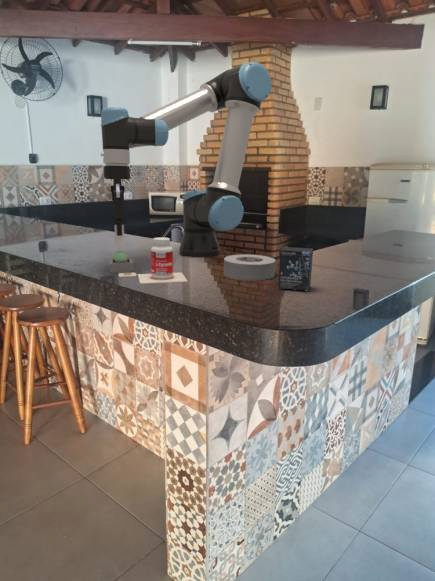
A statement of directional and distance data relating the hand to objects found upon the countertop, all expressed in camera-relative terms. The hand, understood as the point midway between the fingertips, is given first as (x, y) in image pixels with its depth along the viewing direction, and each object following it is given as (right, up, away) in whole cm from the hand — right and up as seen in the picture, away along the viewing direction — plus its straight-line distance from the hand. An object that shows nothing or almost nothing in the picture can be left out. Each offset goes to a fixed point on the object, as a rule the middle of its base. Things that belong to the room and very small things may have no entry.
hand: (119, 245), depth 134 cm
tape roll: (+39, -9, -2) cm, 40 cm away
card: (+3, -9, -4) cm, 10 cm away
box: (+50, -13, -17) cm, 55 cm away
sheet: (+14, -10, -8) cm, 19 cm away
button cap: (0, -6, +2) cm, 6 cm away
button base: (0, -7, +2) cm, 8 cm away
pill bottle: (+14, -10, -8) cm, 19 cm away
